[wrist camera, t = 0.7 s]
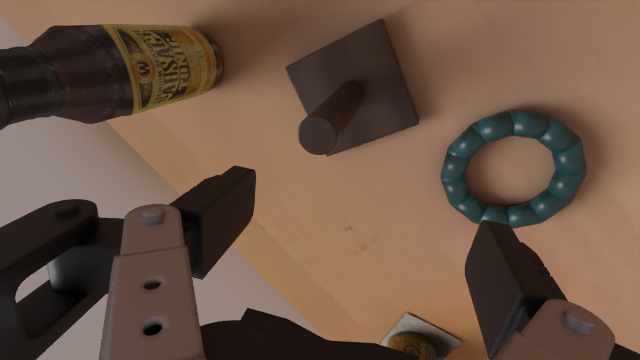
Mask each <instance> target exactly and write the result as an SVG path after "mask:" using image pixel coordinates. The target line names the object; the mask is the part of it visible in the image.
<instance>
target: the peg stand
mask: <svg viewBox="0 0 640 360" xmlns="http://www.w3.org/2000/svg"><path fill="white" fill-rule="evenodd" d="M285 69H286V71H287V73H288V75H289V78H290V80H291V82H292V84H293V86H294V88H295V90H296V92H297V94H298V97H299V99H300V101H301V103H302V105H303V107H304V109H305V111H306V114H307V117H306V118H305V119H304V120H303V121H302V122H301V124H300V125H299V128H298V139H299V142H300V144H301V145H302V147H303V148H304V149H305V150H306V151H308V152H309V153H312V154H315V155H323V154H326V156H330V155H333V154H336V153H339V152H342V151H345V150H347V149H350V148H353V147H356V146H359V145H361V144H364V143H367V142H370V141H373V140H376V139H378V138H381V137H384V136H387V135H390V134H392V133H395V132H398V131H401V130H404V129H407V128H409V127H412V126H415V125H418V124H419V118H418V115H417V112H416V109H415V107H414V104H413V101H412V98H411V96H410V93H409V90H408V87H407V85H406V82H405V79H404V76H403V73H402V71H401V68H400V65H399V62H398V60H397V57H396V54H395V51H394V48H393V46H392V43H391V40H390V37H389V35H388V32H387V29H386V26H385V23H384V21H383V19H379V20H377V21H375V22H373V23H371V24H369V25H367V26H365V27H363V28H361V29H359V30H357V31H355V32H353V33H352V34H350V35H348V36H346V37H344V38H342V39H340V40H338V41H336V42H334V43H332V44H330V45H328V46H326V47H324V48H322V49H320V50H318V51H316V52H314V53H312V54H310V55H308V56H306V57H304V58H302V59H300V60H299V61H297V62H295V63H293V64H291V65H289V66H287V67H285Z"/></svg>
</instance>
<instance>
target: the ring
mask: <svg viewBox="0 0 640 360" xmlns="http://www.w3.org/2000/svg"><path fill="white" fill-rule="evenodd" d="M509 136H519V137H526V138H533V139H537V140H538V141H539V142H540V143H542V144H543V145H544V146H545V147H547V148H548V149H549V150H550V151H552V155H553V159H554V164H555V168H556V171H555V173H554V175H553V177H552V179H551V182H550V184H549V186H548V188H547V189H546V190H545V191H543V192H542V193H540V194H539V195H538V196H536V197H535V198H534V199H532V200H531V201H530V202H527V203H523V204H518V205H514V206H510V207H501V206H495V205H490V204H485V203H483V202H482V201H481V200H479V199H478V198H477V197H475V196H474V195H473V194H472V193H470V191H469V188H468V185H467V182H466V179H465V174H466V171H467V168H468V165H469V161H470V158H471V157H473V156H474V155H475V154H476V153H477V152H478V151H479V150H480V149H481V148H482V147H484V146H485V145H486V144H487V143H489V142H492V141H496V140H499V139H502V138H505V137H509ZM586 173H587V167H586V162H585V157H584V152H583V147H582V142H581V139H580V138H579V137H578V136H577V135H576V134H575V133H574V132H572V131H571V130H570V129H569V128H567V127H566V126H565V125H564V124H562V123H561V122H560V121H559V120H557V119H556V118H555V117H554V116H551V115H548V114H541V113H533V112H525V111H518V110H509V111H506V112H503V113H500V114H497V115H494V116H491V117H488V118H485V119H482V120H479V121H476V122H474V123H473V124H471V125H470V126H469V127H468V128H467V129H466V130H465V131H464V132H463V133H462V134H461V135H460V136H459V137H458V138H457V139H456V140H455V141H454V142H453V143H452V144H451V145H450V146H449V148H448V150H447V153H446V157H445V161H444V164H443V168H442V172H441V181H442V184H443V187H444V189H445V192H446V195H447V198H448V201H449V203H450V204H451V206H452V207H454V208H455V209H456V210H458V211H459V212H460V213H462V214H463V215H464V216H465V217H467V218H468V219H469V220H471V221H472V222H474V223H476V224H480V223H481V222H482V221H483V220H489V221H493V222H498V223H503V224H507V225H510V227H511V228H512V229H514V228H519V227H524V226H529V225H534V224H539V223H542V222H544V221H546V220H547V219H549V218H550V217H552V216H553V215H554V214H556V213H557V212H559V211H560V210H562V209H563V208H565V207H566V206H568V205H569V204H570V203H571V202H572V201H573V200H574V198H575V196H576V194H577V192H578V190H579V188H580V186H581V184H582V182H583V180H584V178H585V176H586Z"/></svg>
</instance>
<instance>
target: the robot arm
mask: <svg viewBox="0 0 640 360" xmlns="http://www.w3.org/2000/svg"><path fill="white" fill-rule="evenodd" d="M255 186H256V172H255V170H254V169H249V168H244V167H240V166H233V167H231V168H230V169H229V170H227V171H226V172H225V173H223V174H222V175H216V176H213V177H210V178H207V179H205V180H203V181H202V182H200V183H199V184H198V185H197V186H195V187H193V188H192V189H190V191H188V192H186V193H185V194H183V195H182V196H180V197H179V198H178V199H176V200H175V201H173V202H172V203H170V204H169V205H165V204H151V205H145V206H141V207H138V208H135V209H133V210H132V211H130V212H129V213H128V214H127V215H126V216H125V219H120V218H99V216H98V210H97V206H96V204H95V203H93V202H91V201H88V200H82V199H70V200H62V201H58V202H54V203H50V204H47V205H45V206H43V207H41V208H39V209H37V210H35V211H33V212H31V213H29V214H27V215H25V216H23V217H21V218H19V219H17V220H15V221H13V222H11V223H9V224H7V225H5V226H3V227H1V228H0V360H36V359H37V358H38V357H39V356H40V355H41V354H42V353H44V352H45V351H46V350H47V349H48V348H49V347H50V346H51V345H52V344H53V343H54V342H55V341H56V340H57V339H59V337H61V336H62V335H63V333H65V332H66V331H67V330H68V329H69V328H70V327H71V326H72V325H73V324H74V323H76V321H78V319H80V318H81V317H82V316H83V315H84V314H85V313H86V312H87V311H88V310H89V309H90V308H92V307H93V306H94V305H95V304H96V303H97V302H98V301H99V300H100V299H101V298H102V297H103V296H104V295H105V294H108V300H107V306H106V313H105V320H104V327H103V334H102V340H101V347H100V354H99V360H419V356H418V355H414V354H411V353H407V352H404V351H400V350H396V349H393V348H389V347H386V346H382V345H379V344H375V343H360V342H343V341H330V340H326V339H324V338H322V337H320V336H318V335H316V334H314V333H312V332H311V331H309V330H307V329H305V328H303V327H301V326H299V325H298V324H296V323H294V322H292V321H290V320H288V319H286V318H282V317H279V316H275V315H271V314H268V313H264V312H261V311H257V310H254V309H250V308H247V310H246V311H245V313H244V315H243V317H242V318H241V320H239V321H238V320H231V321H220V322H214V323H210V324H206V325H203V326H200V325H199V318H198V313H197V306H196V299H195V293H194V286H193V280H192V277H194V278H198V279H203V278H204V277H205V276H206V275H207V273H208V272H209V271H210V270H211V269H212V267H213V266H214V265H215V264H216V263H217V261H218V260H219V259H220V258H221V256H222V255H223V254H224V253H225V252H226V251H227V249H228V248H229V247H230V246H231V245H232V243H233V242H234V241H235V240H236V239H237V237H238V236H239V235H240V234H241V233H242V231H243V230H244V229H245V228H246V227H247V225H248V224H249V223H250V221H251V219H252V216H253V212H254V203H255ZM45 265H46V266H47V270H48V274H49V278H50V279H49V280H48V281H46V282H45V283H44V284H42V285H41V286H40V287H38V288H37V289H35V290H34V291H33V292H31V293H30V294H29V295H27V296H26V297H25V298H23V299H22V300H21V301H19V302H18V303H16V301H15V295H16V291H17V289H18V287H19V286H20V284H21V283H22V282H23V281H24V280H25V279H26V278H27V277H29V276H30V275H31V274H33V273H34V272H36V271H37V270H39V269H40V268H42V267H43V266H45ZM465 277H466V281H467V284H468V288H469V291H470V295H471V298H472V302H473V305H474V308H475V312H476V315H477V319H478V322H479V326H480V329H481V333H482V336H483V340H484V343H485V347H486V350H487V353H488V357H489V359H491V360H640V354H639V353H637V352H634V351H632V350H630V349H628V348H625V347H623V346H621V345H619V344H617V343H615V336H614V334H613V332H612V331H611V329H610V328H609V327H608V326H607V325H606V324H605V323H604V322H603V321H602V320H601V319H600V318H598V317H597V316H596V315H594V314H593V313H591V312H590V311H588V310H586V309H585V308H583V307H581V306H579V305H576V304H574V303H571V302H568V300H567V299H566V297H565V296H564V294H563V293H562V291H561V290H560V288H559V287H558V285H557V283H556V282H555V280H554V279H553V277H552V276H550V273H549V271H548V270H547V268H546V267H544V264H543V262H542V261H541V259H540V258H539V256H538V255H537V254H536V253H535V252H534V251H533V250H532V249H530V248H529V247H528V246H527V245H526V244H524V243H522V242H520V241H519V240H518V238H517V236H516V235H515V233H514V231H513V230H512V228H511V227H510V225H507V224H503V223H498V222H493V221H489V220H483V221H482V222H481V223H480V225H479V228H478V230H477V233H476V236H475V238H474V241H473V243H472V246H471V248H470V251H469V254H468V256H467V259H466V263H465Z"/></svg>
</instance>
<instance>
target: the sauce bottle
mask: <svg viewBox="0 0 640 360" xmlns="http://www.w3.org/2000/svg"><path fill="white" fill-rule="evenodd" d="M222 66H223V63H222V56H221V54H220V51H219V50H218V48H217V46H216V44H215V42H213V40H212V39H211V38H210V37H209V35H207V34H205V33H204V32H202V31H200V30H198V29H195V28H191V27H188V26H166V25H131V24H102V25H76V26H53V27H50V28H49V29H48V30H47V31H45V32H44V33H43V34H42V35H40V36H39V37H38V38H37V39H36V40H35V41H34V42H33V43H32V44H30V45H29V46H27V47H13V48H9V49H0V130H2V129H3V128H5V127H6V126H7V125H10V124H13V123H17V122H21V121H25V120H29V119H35V118H39V117H50V116H52V115H53V116H58V117H62V118H66V119H71V120H76V121H80V122H82V123H87V124H93V123H98V122H102V121H105V120H109V119H112V118H116V117H120V116H129V115H133V114H136V113H140V112H143V111H147V110H150V109H154V108H157V107H161V106H164V105H167V104H171V103H174V102H177V101H181V100H185V99H188V98H191V97H195V96H198V95H201V94H203V93H205V92H207V91H210V90H211V89H212V88H214V87H215V86H216V85H217V83H218V82H219V80H220V78H221V74H222Z"/></svg>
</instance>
